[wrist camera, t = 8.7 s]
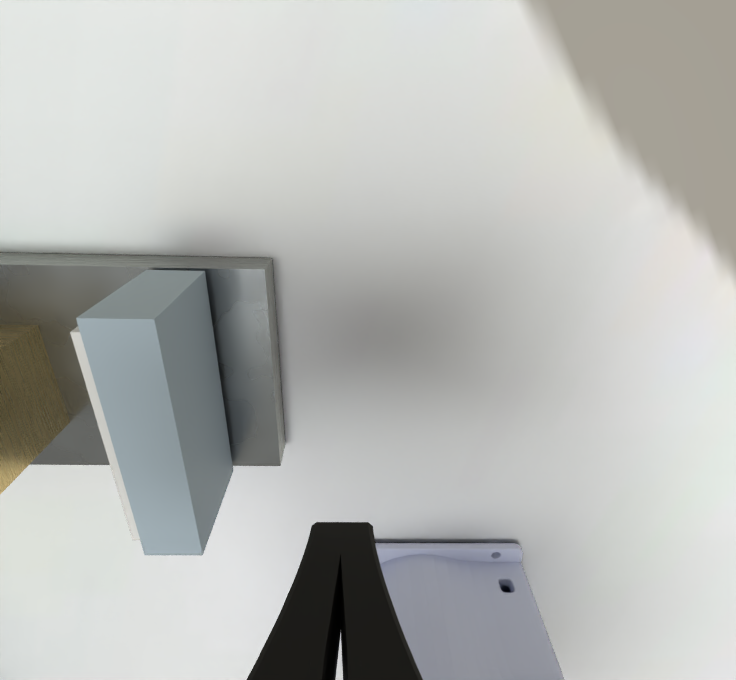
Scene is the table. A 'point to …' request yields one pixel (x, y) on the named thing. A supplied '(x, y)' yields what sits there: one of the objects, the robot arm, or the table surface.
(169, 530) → the sliding jaw
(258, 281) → the vise
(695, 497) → the table surface
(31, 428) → the brass block
